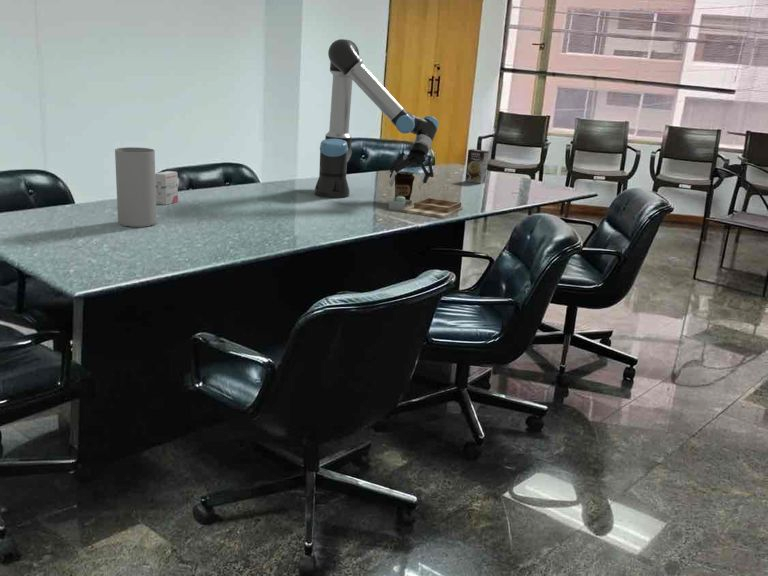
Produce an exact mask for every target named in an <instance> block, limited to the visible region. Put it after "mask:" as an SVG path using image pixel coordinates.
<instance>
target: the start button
mask: <svg viewBox="0 0 768 576" xmlns="http://www.w3.org/2000/svg"><path fill="white" fill-rule="evenodd" d="M396 201H400V202H405V197H401V196H398V197H396Z"/></svg>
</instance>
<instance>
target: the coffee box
mask: <svg viewBox="0 0 768 576" xmlns="http://www.w3.org/2000/svg"><path fill="white" fill-rule="evenodd" d="M489 156H490V151H488V150H482V149H476V148H475V149H474V148H472V149H468V151H467V159H466V160H467V161H466V171H465V179H464V182H467V183H473V182H474V183H473V184H479V183H480V185H482V184H486V183H487V181H486V180H487V174H488V173H487V171H488V163H489ZM485 182H486V183H485ZM481 183H482V184H481Z"/></svg>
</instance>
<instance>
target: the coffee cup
mask: <svg viewBox="0 0 768 576" xmlns="http://www.w3.org/2000/svg"><path fill="white" fill-rule="evenodd" d="M415 178H416V176H415V175H414V172H409V171H399V172H397V174H396V175H395V181H394V197H395V198H396V197H398V196H401V197H405V199H406V200H411V197H412V193H413V188H414V187H413V186H414V182H415ZM395 198H394V199H395Z"/></svg>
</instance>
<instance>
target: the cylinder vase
mask: <svg viewBox="0 0 768 576" xmlns="http://www.w3.org/2000/svg"><path fill="white" fill-rule="evenodd" d="M155 153H156V152H155V149H153V148H148V147H134V146H133V147H129V146H126V147H117V148H115V149H114V158H115V161H114V162H115V181H116V182H115V184H116V203H117V204H116V207H117V221H118V224H119V225H120V226H122V225H123V227H126V226H129V227H128V228H144V227H145V228H146V226H148V227H152V226H154V225H155V224H156V223H157V220H158V219H157V204H156V184H155V174H156V158H155V157H156V156H155V155H156V154H155ZM151 225H152V226H151Z"/></svg>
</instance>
